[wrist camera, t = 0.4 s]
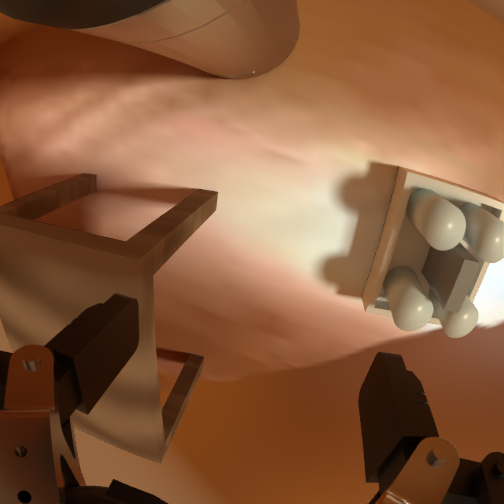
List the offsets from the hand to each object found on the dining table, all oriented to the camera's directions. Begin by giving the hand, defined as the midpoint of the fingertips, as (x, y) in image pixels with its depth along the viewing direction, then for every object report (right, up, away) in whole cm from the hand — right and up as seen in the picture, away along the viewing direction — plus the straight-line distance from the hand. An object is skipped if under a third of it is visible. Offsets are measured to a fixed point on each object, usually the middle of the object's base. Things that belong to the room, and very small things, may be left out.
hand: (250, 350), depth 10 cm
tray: (+16, +3, +15) cm, 22 cm away
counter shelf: (-11, 0, +21) cm, 24 cm away
